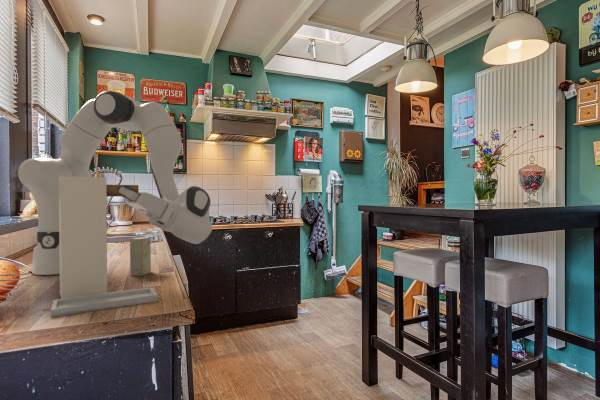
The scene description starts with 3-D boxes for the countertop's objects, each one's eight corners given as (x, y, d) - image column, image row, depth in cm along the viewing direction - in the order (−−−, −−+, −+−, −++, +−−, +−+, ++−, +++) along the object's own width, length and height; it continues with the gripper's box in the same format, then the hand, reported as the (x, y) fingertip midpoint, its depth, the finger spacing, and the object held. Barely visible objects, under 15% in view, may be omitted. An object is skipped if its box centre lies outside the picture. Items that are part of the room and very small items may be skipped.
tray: (152, 293, 94) (151, 287, 94) (157, 301, 87) (157, 294, 87) (53, 306, 83) (53, 299, 83) (51, 317, 75) (50, 309, 75)
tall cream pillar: (102, 287, 100) (101, 178, 100) (107, 294, 93) (106, 177, 93) (59, 293, 94) (58, 177, 94) (61, 301, 87) (60, 176, 87)
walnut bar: (136, 196, 103) (135, 185, 103) (138, 196, 100) (138, 185, 100) (61, 196, 92) (61, 184, 92) (62, 196, 89) (62, 183, 89)
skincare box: (143, 275, 115) (142, 238, 115) (129, 275, 115) (129, 238, 115) (151, 271, 121) (151, 236, 121) (138, 271, 121) (138, 236, 121)
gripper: (158, 202, 115) (117, 180, 108) (178, 203, 98) (131, 177, 91) (148, 220, 113) (105, 198, 106) (166, 223, 97) (118, 199, 89)
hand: (117, 189), depth 98 cm, fingers closed on walnut bar, 3 cm apart
